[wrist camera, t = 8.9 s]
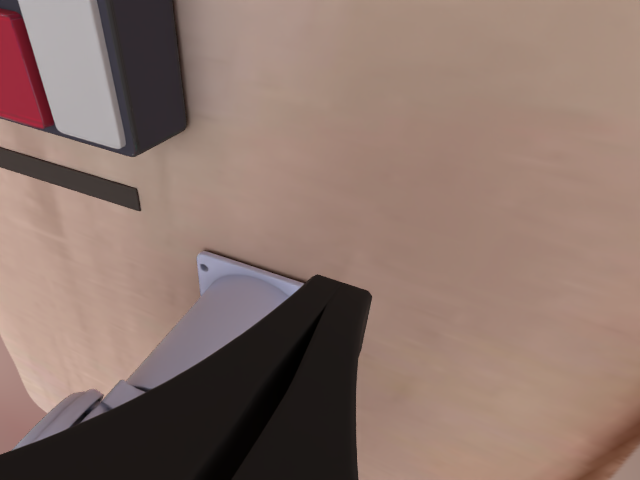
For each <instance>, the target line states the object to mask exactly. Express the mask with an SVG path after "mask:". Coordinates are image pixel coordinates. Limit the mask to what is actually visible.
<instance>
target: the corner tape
mask: <svg viewBox="0 0 640 480" xmlns="http://www.w3.org/2000/svg"><path fill="white" fill-rule="evenodd" d="M0 167H1V168H5V169H8V170H11V171H14V172H17V173H20V174H23V175H27V176H30V177H33V178H36V179H39V180H42V181H46V182H49V183H52V184H55V185H58V186H61V187H64V188H68V189H71V190H74V191H77V192H80V193H83V194H87V195H90V196H93V197H96V198H99V199H102V200H105V201H109V202H112V203H115V204H118V205H121V206H124V207H128V208H131V209H134V210H137V211H141V210H140V204H139V199H138V194H137V189H136V188H132V187H129V186H126V185H122V184H119V183H116V182H112V181H109V180H106V179H103V178H99V177H96V176H93V175H89V174H86V173H83V172H79V171H76V170H73V169H70V168H66V167H63V166H60V165H56V164H53V163H50V162H46V161H43V160H40V159H37V158H33V157H30V156H27V155H23V154H20V153H17V152H14V151H10V150H7V149H4V148H0Z"/></svg>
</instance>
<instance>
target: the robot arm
mask: <svg viewBox="0 0 640 480" xmlns="http://www.w3.org/2000/svg"><path fill="white" fill-rule="evenodd" d="M197 266H198V276H199V285H200V295H201V297H200V298H199V299H198V300H197V301H196V303H195V304H194V305H193V306H192V307H191V308H190V309H189V310H188V312H187V313H186V314H185V315H184V316H183V317H182V318H181V319H180V321H179V322H178V323H177V324H176V325H175V326H174V327H173V328H172V330H171V331H170V332H169V333H168V334H167V335H166V336H165V338H164V339H163V340H162V341H161V342H160V343H159V344H158V345H157V347H156V348H155V349H154V350H153V351H152V352H151V353H150V354H149V356H148V357H147V358H146V359H145V360H144V361H143V362H142V363H141V365H140V366H139V367H138V368H137V369H136V370H135V371H134V373H133V374H132V375H131V376H130V377H129V378H128V379H127V380H126V381H124V380H120V381H119V382H118V383H117V384H116V386H115V387H114V388H113V389H112V390H111V391H110V392H109V393H108V394H107V396H106V397H105V398H104V399H103V396H104V395H103V394H102V393H100V392H99V391H98V390H96V389H89V390H88V391H86V392H85V391H83V392H77V393H73V394H71V395H69V396H68V397H66V398H65V399H64V400H63V401H61V402H60V403H59V404H58V405H57V406H56V407H54V408H53V409H52V410H51V411H50V412H49V413H48V414H47V415H46V416H45V417H44V418H43V419H42V420H41V421H39V422H38V423H37V424H36V425H35V427H33V428H32V429H31V431H29V433H28V434H27V435H26V436H25V437H24V438H23V439H22V440H21V441H20V442H19V443H18V444H17V445H16V446H15V447H14V448H13V449H12V450H11V451H9V452H6V453H4V454H1V455H0V480H358V468H357V447H356V381H357V367H358V357H359V354H360V351H361V348H362V343H363V338H364V333H365V329H366V324H367V319H368V314H369V310H370V305H371V300H372V295H371V294H370V293H369V291H367V290H364V289H361V288H358V287H354V286H351V285H348V284H345V283H342V282H339V281H336V280H333V279H330V278H327V277H324V276H321V275H318V274H317V275H315V276H313V277H312V278H310V279H309V280H308V281H307V282H306V283H305V284H304V283H301V282H298V281H295V280H292V279H289V278H286V277H283V276H280V275H277V274H274V273H271V272H268V271H265V270H262V269H259V268H256V267H253V266H250V265H247V264H244V263H241V262H238V261H234V260H231V259H228V258H225V257H222V256H219V255H216V254H213V253H210V252H207V251H201V252H200V253H199V254H198V255H197ZM102 399H103V400H102ZM100 402H101V403H100Z"/></svg>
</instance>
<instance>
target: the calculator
mask: <svg viewBox="0 0 640 480" xmlns="http://www.w3.org/2000/svg"><path fill="white" fill-rule="evenodd" d="M0 118H1V119H4V120H8V121H11V122H15V123H18V124H21V125H25V126H28V127H32V128H35V129H38V130H42V131H45V132H48V133H52V134H55V135H59V136H62V137H65V138H69V139H72V140H75V141H79V142H82V143H86V144H89V145H92V146H96V147H99V148H102V149H106V150H109V151H113V152H116V153H119V154H123V155H126V156H130V157H135V156H137V155H139V154H141V153H143V152H145V151H147V150H149V149H151V148H153V147H154V146H156V145H158V144H160V143H162V142H164V141H166V140H167V139H169V138H171V137H173V136H175V135H177V134H178V133H180V132H182V131H184V130H185V128H186V114H185V106H184V97H183V89H182V81H181V72H180V64H179V55H178V47H177V39H176V30H175V22H174V13H173V5H172V0H0Z"/></svg>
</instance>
